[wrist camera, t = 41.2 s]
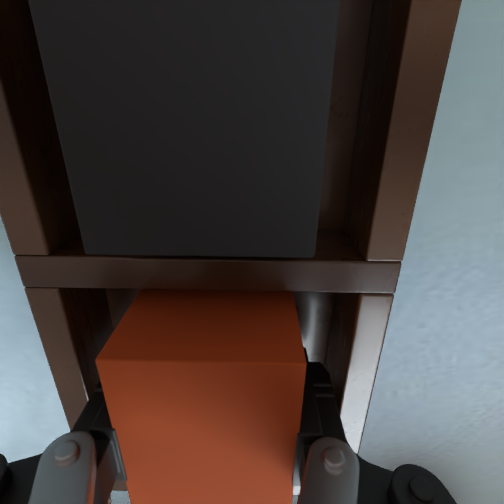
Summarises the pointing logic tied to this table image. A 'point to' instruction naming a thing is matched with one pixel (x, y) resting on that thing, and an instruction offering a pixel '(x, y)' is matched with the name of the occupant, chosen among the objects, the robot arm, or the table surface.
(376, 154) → the frame
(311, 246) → the black rectangular block
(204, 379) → the orange block
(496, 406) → the table surface
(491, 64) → the table surface
